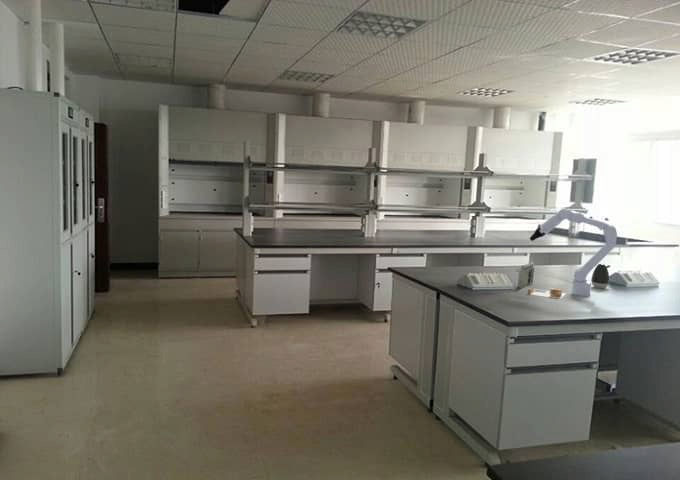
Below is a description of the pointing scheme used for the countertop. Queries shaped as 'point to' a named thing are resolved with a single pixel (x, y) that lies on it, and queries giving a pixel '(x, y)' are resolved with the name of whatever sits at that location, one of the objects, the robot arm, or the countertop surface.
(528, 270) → the geiger counter
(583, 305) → the countertop surface
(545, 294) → the trap board
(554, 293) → the block
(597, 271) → the potted cactus
